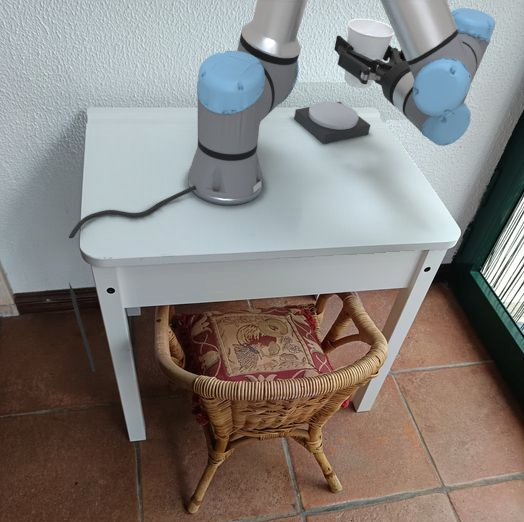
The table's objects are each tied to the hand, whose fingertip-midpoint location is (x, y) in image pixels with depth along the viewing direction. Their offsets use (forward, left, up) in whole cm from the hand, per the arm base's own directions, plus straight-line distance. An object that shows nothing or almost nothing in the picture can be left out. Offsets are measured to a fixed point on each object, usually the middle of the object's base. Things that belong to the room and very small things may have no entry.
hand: (355, 42), depth 106 cm
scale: (0, +2, -20) cm, 20 cm away
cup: (-1, -5, -7) cm, 8 cm away
